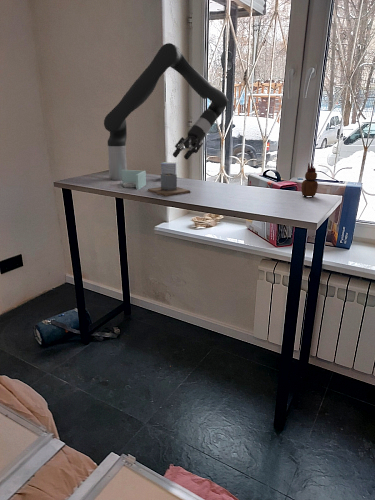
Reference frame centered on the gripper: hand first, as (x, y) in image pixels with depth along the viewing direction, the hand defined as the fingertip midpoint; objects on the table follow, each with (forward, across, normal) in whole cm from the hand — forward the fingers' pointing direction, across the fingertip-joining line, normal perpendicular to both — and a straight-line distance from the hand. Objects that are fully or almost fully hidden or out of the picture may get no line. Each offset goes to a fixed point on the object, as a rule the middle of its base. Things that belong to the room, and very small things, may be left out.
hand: (179, 157), depth 169 cm
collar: (+14, 0, +6) cm, 15 cm away
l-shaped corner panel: (+21, -21, +1) cm, 30 cm away
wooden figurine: (-17, +44, +38) cm, 61 cm away
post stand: (+15, 0, +6) cm, 16 cm away
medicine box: (+2, -26, +20) cm, 33 cm away
